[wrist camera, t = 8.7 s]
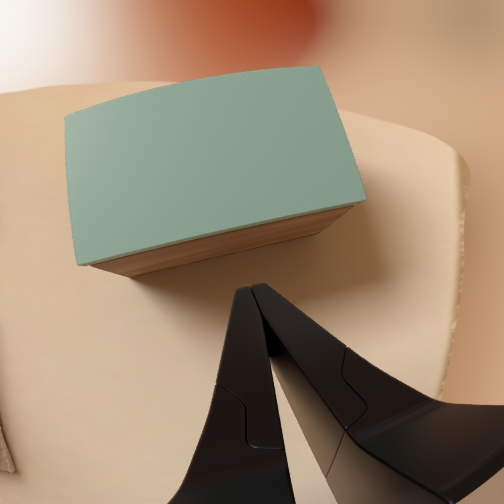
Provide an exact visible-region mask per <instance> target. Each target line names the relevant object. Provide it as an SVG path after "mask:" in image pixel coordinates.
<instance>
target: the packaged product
mask: <svg viewBox="0 0 504 504" xmlns="http://www.w3.org/2000/svg"><path fill="white" fill-rule="evenodd" d="M0 470H1V471H8V472H10V473H12V474H13V472H14V471H15V468H14V465H13V462H12V459H11V456H10V453H9V451H8V448H7V446H6V443H5V440H4V438H3V434H2V429H1V425H0Z"/></svg>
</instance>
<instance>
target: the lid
mask: <svg viewBox="0 0 504 504" xmlns="http://www.w3.org/2000/svg"><path fill="white" fill-rule="evenodd" d="M65 159H66V177H67V191H68V202H69V212H70V221H71V229H72V236H73V243H74V250H75V256H76V262H77V265H79V266H88V265H92V264H96V263H100V262H104V261H108V260H112V259H116V258H120V257H124V256H128V255H132V254H136V253H140V252H144V251H148V250H152V249H157V248H161V247H165V246H169V245H173V244H178V243H182V242H186V241H190V240H195V239H199V238H203V237H208V236H212V235H216V234H221V233H225V232H229V231H234V230H238V229H243V228H247V227H252V226H256V225H261V224H265V223H270V222H274V221H279V220H284V219H288V218H293V217H298V216H302V215H307V214H312V213H317V212H321V211H326V210H331V209H336V208H341V207H346V206H351V205H356V204H360V203H361V202H363V201H365V200H367V197H366V194H365V191H364V187H363V184H362V181H361V177H360V174H359V171H358V168H357V165H356V162H355V159H354V156H353V153H352V150H351V147H350V144H349V141H348V138H347V135H346V132H345V130H344V127H343V124H342V121H341V119H340V116H339V113H338V111H337V108H336V105H335V103H334V101H333V98H332V95H331V93H330V91H329V88H328V85H327V83H326V81H325V78H324V76H323V73H322V71H321V69H320V67H319V66H303V67H287V68H275V69H266V70H255V71H247V72H239V73H232V74H225V75H219V76H213V77H207V78H201V79H196V80H190V81H185V82H180V83H176V84H171V85H167V86H162V87H158V88H154V89H150V90H146V91H142V92H138V93H135V94H131V95H127V96H124V97H120V98H117V99H114V100H110V101H107V102H104V103H101V104H98V105H95V106H92V107H89V108H86V109H83V110H80V111H77V112H75V113H72V114H69V115H67V116H65Z"/></svg>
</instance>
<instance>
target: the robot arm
mask: <svg viewBox="0 0 504 504" xmlns="http://www.w3.org/2000/svg"><path fill="white" fill-rule="evenodd" d="M270 363H271V364H270ZM271 365H272V367H273V370H274V372H275V374H276V376H277V378H278V380H279V383H280V385H281V387H282V389H283V391H284V393H285V395H286V398H287V400H288V402H289V404H290V406H291V408H292V410H293V413H294V415H295V417H296V419H297V421H298V423H299V425H300V427H301V429H302V431H303V434H304V436H305V438H306V440H307V442H308V444H309V446H310V448H311V450H312V452H313V454H314V456H315V458H316V460H317V462H318V465H319V467H320V469H321V471H322V473H323V475H324V477H325V478H326V481H327V483H328V485H329V487H330V489H331V491H332V493H333V495H334V497H335V499H336V501H337V503H338V504H504V405H472V404H454V403H446V402H441V401H438V400H435V399H433V398H430V397H428V396H426V395H424V394H422V393H421V392H419V391H417V390H415V389H413V388H412V387H410V386H408V385H406V384H405V383H403V382H401V381H399V380H397V379H396V378H394V377H392V376H390V375H389V374H387V373H385V372H384V371H382V370H380V369H379V368H377V367H376V366H374V365H372V364H371V363H370V362H368V361H367V360H365V359H364V358H362V357H361V356H360V355H358V354H357V353H356V352H354V351H353V350H352V349H350V348H349V347H347V346H346V345H345V344H344V343H342V342H341V341H340V340H338V339H337V338H336V337H334V336H333V335H332V334H330V333H329V332H328V331H327V330H325V329H324V328H323V327H321V326H320V325H319V324H317V323H316V322H315V321H313V320H312V319H311V318H310V317H308V316H307V315H306V314H304V313H303V312H302V311H300V310H299V309H298V308H297V307H295V306H294V305H293V304H291V303H290V302H289V301H288V300H286V299H285V298H284V297H282V296H281V295H280V294H278V293H277V292H276V291H275V290H273V289H272V288H271V287H269V286H268V285H267V284H266V283H260V284H256V285H252V286H251V288H250V287H244V288H239V289H237V290H236V291H235V295H234V299H233V304H232V308H231V313H230V318H229V322H228V327H227V332H226V336H225V341H224V346H223V351H222V355H221V360H220V365H219V369H218V374H217V379H216V385H215V388H214V392H213V397H212V401H211V405H210V409H209V413H208V416H207V419H206V422H205V425H204V428H203V431H202V434H201V437H200V439H199V442H198V445H197V447H196V450H195V453H194V455H193V458H192V460H191V463H190V466H189V468H188V471H187V473H186V476H185V478H184V480H183V482H182V484H181V486H180V488H179V489H178V491H177V492H176V494H175V495H174V496H173V498H172V499H171V500H170V501H169V502H168V504H296V502H295V497H294V493H293V488H292V483H291V478H290V473H289V468H288V462H287V457H286V452H285V445H284V439H283V434H282V428H281V422H280V416H279V410H278V405H277V399H276V393H275V387H274V381H273V376H272V370H271Z"/></svg>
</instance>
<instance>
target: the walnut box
mask: <svg viewBox="0 0 504 504" xmlns="http://www.w3.org/2000/svg"><path fill="white" fill-rule="evenodd" d="M353 206H354V205H351V206H346V207H341V208H336V209H331V210H326V211H321V212H317V213H312V214H307V215H302V216H298V217H293V218H288V219H284V220H279V221H274V222H270V223H265V224H261V225H256V226H252V227H247V228H243V229H238V230H234V231H229V232H225V233H221V234H216V235H212V236H208V237H203V238H199V239H195V240H190V241H186V242H182V243H178V244H173V245H169V246H165V247H161V248H157V249H152V250H148V251H144V252H140V253H136V254H132V255H128V256H124V257H120V258H116V259H112V260H108V261H104V262H100V263H96V264H92V265H90V266H92V267H95V268H98V269H102V270H105V271H108V272H112V273H115V274H118V275H122V276H125V277H133V276H137V275H141V274H145V273H150V272H154V271H158V270H163V269H167V268H171V267H175V266H180V265H184V264H188V263H192V262H197V261H201V260H205V259H210V258H214V257H218V256H223V255H227V254H231V253H235V252H240V251H244V250H248V249H253V248H257V247H261V246H266V245H270V244H274V243H279V242H283V241H287V240H292V239H296V238H300V237H305V236H309V235H313V234H318V233H319V232H320V231H322V230H323V229H324V228H326V227H327V226H328V225H330V224H331V223H332V222H334V221H335V220H336V219H337V218H339V217H340V216H341V215H343V214H344V213H345V212H347V211H348V210H349V209H351V208H352V207H353Z"/></svg>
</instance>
